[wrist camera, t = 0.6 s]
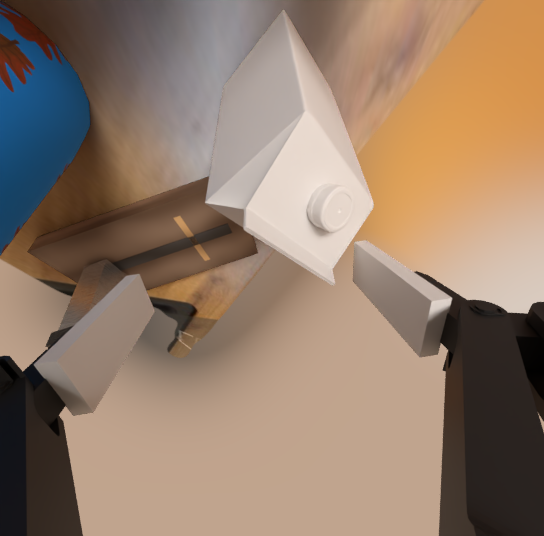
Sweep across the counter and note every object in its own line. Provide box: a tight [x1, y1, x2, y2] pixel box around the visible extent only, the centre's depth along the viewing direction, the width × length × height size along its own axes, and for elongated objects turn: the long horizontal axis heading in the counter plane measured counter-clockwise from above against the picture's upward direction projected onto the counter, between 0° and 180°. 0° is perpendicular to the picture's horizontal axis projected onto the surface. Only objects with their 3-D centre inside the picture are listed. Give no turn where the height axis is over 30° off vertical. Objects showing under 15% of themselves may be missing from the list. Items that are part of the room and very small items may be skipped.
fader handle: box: [46, 259, 127, 347], centre depth 27 cm, size 5×4×10 cm
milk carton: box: [205, 10, 374, 285], centre depth 16 cm, size 7×7×19 cm
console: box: [28, 177, 258, 290], centre depth 31 cm, size 12×24×3 cm, turn 104°
